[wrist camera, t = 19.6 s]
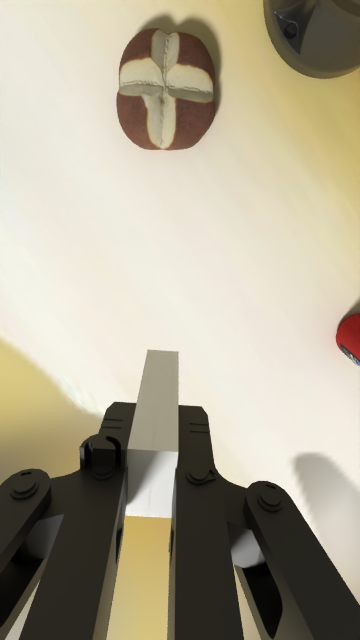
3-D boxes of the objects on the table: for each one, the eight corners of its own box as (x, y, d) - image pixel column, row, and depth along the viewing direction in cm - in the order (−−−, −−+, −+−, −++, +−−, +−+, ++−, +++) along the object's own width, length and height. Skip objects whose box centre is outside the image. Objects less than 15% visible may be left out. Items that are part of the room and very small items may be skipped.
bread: (114, 143, 38) (105, 135, 34) (127, 27, 34) (119, -1, 30) (203, 163, 39) (207, 158, 34) (226, 52, 35) (234, 29, 30)
